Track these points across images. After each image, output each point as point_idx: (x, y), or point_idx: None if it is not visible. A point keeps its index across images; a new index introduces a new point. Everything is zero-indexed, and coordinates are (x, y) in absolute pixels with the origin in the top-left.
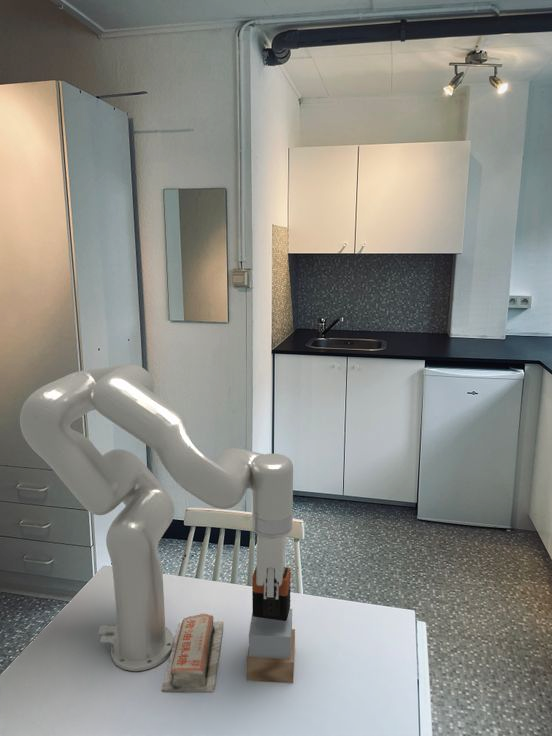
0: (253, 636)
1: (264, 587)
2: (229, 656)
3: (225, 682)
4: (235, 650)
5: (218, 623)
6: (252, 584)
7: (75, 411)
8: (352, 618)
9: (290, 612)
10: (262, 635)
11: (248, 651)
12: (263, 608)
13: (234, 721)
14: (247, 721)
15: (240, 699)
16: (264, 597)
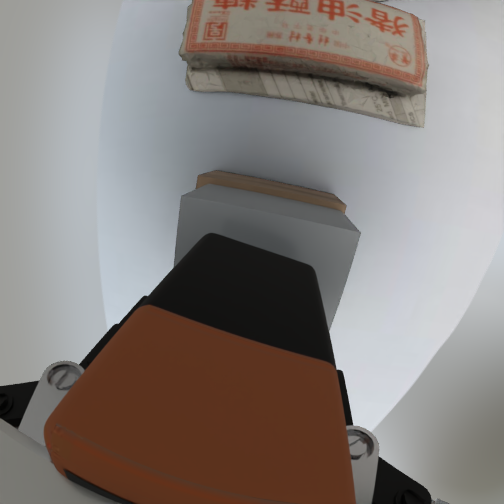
0: (180, 214)
1: (22, 425)
2: (304, 129)
3: (214, 117)
4: (324, 148)
5: (418, 112)
6: (104, 349)
7: None
8: (360, 412)
9: None
10: (176, 251)
11: (233, 183)
12: (126, 317)
13: (113, 144)
14: (112, 171)
15: (162, 154)
16: (45, 373)
